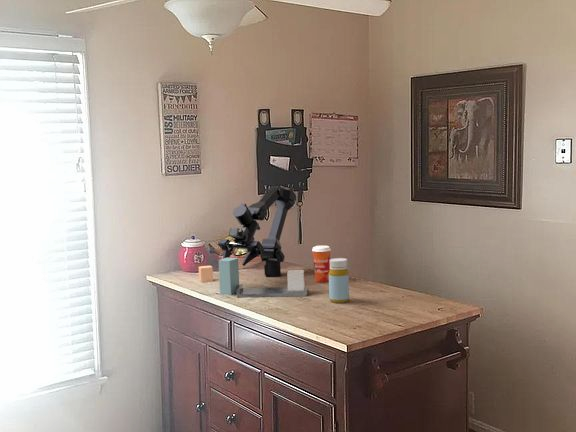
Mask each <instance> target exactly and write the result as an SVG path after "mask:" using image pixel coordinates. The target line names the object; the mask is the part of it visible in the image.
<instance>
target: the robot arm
mask: <svg viewBox="0 0 576 432" xmlns="http://www.w3.org/2000/svg"><path fill="white" fill-rule="evenodd" d="M296 199H297V195H296V193H295V192H294V191H293V190H291V189H286V188H284V187H282V186H271V187H270V188H269V190H268V191H267V192H266V193H265V195H264V196H263V197H261V199H260V200H259V201H258V202H255V203H252V204H251V205H249V206H247V204H246V203H240V205H238V206H237V207H235V208H234V209H233V210H232V214H233V216H234V217H235V219H236V221H237V222H238V224H239V225H241V228H238V227H230V228H229V232H228V237H231V238H232V241H233V242H231V240H230V239H229V238H228V239H226V238H221V239H219V241H218V242H217V246H219V248H220V249H221V251H222V259H224V258H231V256H232V255H233V253H232V252H233V251H234V249H237V250H239V249H240V250H246V251H247V252H246V254H245V256H244V258H243V260H242V266H246V265H248V263H250V262H251V261H253V259H255V258H257V257H260V260H261V262H265V263H264V264H263V265H264V266H263V267H264V270H263V271H264V275H265V277H266V278H270V277H275V278H276V277H282V270H281V263H282V262H283V263H284V261H285V254H284V252H283V251H282V244H281V241H280V239H281V236H282V233H283V229H284V226H285V222H286V218H287V214H288V211H289V210H290V209H292V207H293V206H294V204H295V201H296ZM274 204H275V206H276V209H275V211H274V212H275V213H274V216H273V220H272V223H271V227H270V230H269V234H268V236H267V238H263V239H262V241H259V240H255V234H256V232H257V231H260V230H261V226H260V224H259V223H258V222H257V221H264V220H265V219H266V217H267V215H268V210H269V208H270V207H272V205H274Z"/></svg>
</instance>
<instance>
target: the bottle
mask: <svg viewBox="0 0 576 432" xmlns="http://www.w3.org/2000/svg"><path fill="white" fill-rule="evenodd" d="M348 270H349V269H348V259H347V258H344V257H336V258H335V257H334V258H330V271H329V281H328V291H329V293H328V294H329V301H330V302H331V303H332V304H333V303H335V304H344V303H343V302H345V303H347V302H349V301H350V285H349V284H350V281H349V280H350V278H349V277H350V275H349V273H350V272H349V271H348Z"/></svg>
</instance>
